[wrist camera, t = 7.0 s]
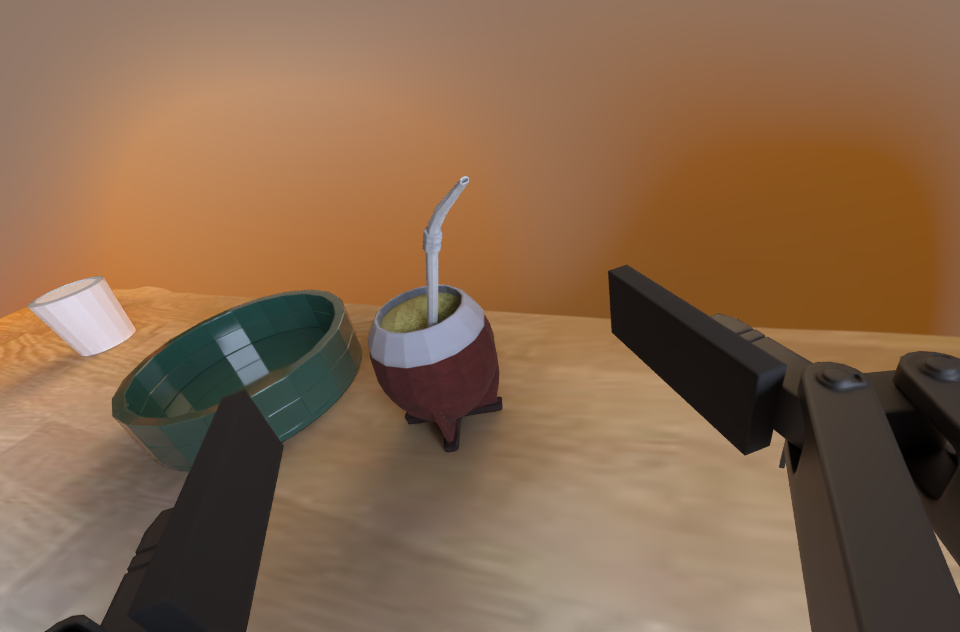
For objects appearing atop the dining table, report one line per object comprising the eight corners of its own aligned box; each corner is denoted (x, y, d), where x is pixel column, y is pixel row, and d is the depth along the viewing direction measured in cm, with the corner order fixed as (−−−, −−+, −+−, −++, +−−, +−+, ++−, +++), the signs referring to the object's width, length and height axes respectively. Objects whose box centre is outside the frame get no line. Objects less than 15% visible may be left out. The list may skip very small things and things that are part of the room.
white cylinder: (67, 352, 49) (21, 301, 45) (131, 321, 53) (94, 272, 49) (81, 365, 45) (32, 311, 41) (149, 330, 49) (110, 278, 45)
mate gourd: (410, 384, 30) (327, 175, 22) (518, 367, 29) (471, 142, 21) (391, 472, 24) (266, 221, 16) (528, 452, 23) (467, 177, 15)
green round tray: (96, 465, 30) (53, 424, 28) (249, 331, 43) (229, 296, 41) (286, 478, 25) (252, 429, 23) (392, 322, 38) (377, 282, 36)
